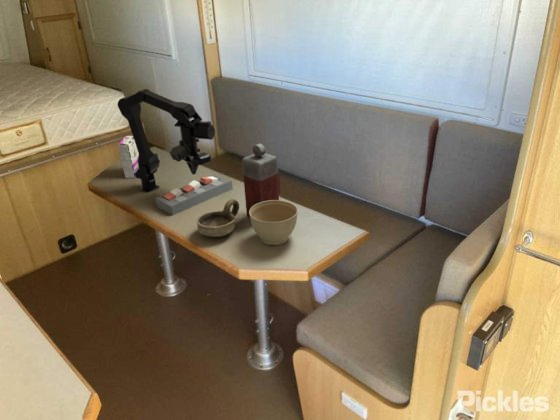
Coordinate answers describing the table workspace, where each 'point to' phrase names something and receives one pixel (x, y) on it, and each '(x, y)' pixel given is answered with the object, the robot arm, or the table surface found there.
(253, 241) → the table surface
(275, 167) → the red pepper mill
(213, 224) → the bowl
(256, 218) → the planter bowl
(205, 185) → the power board
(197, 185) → the block
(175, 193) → the rocker
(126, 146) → the candy bar box
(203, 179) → the rocker
